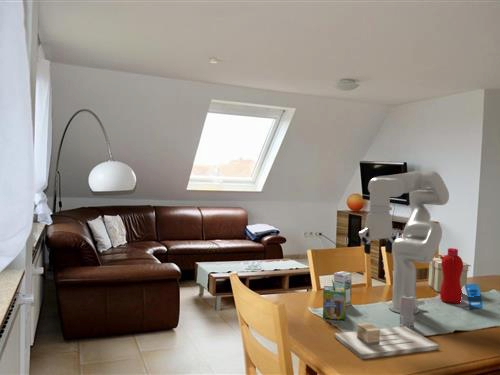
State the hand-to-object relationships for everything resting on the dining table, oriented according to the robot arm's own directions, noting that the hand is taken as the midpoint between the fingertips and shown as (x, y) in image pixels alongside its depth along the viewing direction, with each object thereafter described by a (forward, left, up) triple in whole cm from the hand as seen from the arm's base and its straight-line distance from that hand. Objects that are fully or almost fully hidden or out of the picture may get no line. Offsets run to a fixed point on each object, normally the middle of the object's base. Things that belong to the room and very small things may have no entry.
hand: (378, 253), depth 169 cm
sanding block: (+15, +18, -27) cm, 35 cm away
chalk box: (+12, -12, -29) cm, 33 cm away
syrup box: (+1, -25, -28) cm, 38 cm away
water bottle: (-52, -17, -28) cm, 62 cm away
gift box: (-67, -35, -29) cm, 81 cm away
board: (+8, +18, -28) cm, 34 cm away
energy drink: (-10, +6, -28) cm, 31 cm away
